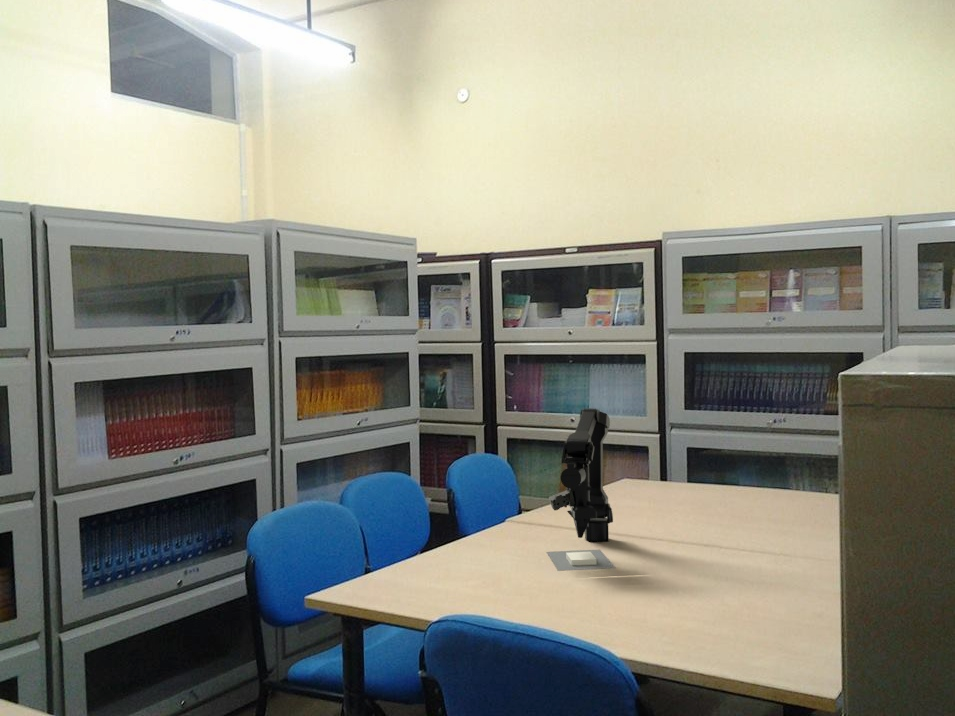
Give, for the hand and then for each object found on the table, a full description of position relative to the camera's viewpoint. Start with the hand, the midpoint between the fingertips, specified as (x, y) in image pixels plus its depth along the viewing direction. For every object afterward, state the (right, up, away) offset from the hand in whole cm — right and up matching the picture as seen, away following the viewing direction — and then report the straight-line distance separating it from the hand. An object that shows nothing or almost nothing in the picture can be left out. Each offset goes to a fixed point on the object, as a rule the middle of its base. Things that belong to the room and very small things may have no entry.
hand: (580, 537), depth 243 cm
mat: (0, -7, +1) cm, 7 cm away
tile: (0, -6, +3) cm, 6 cm away
